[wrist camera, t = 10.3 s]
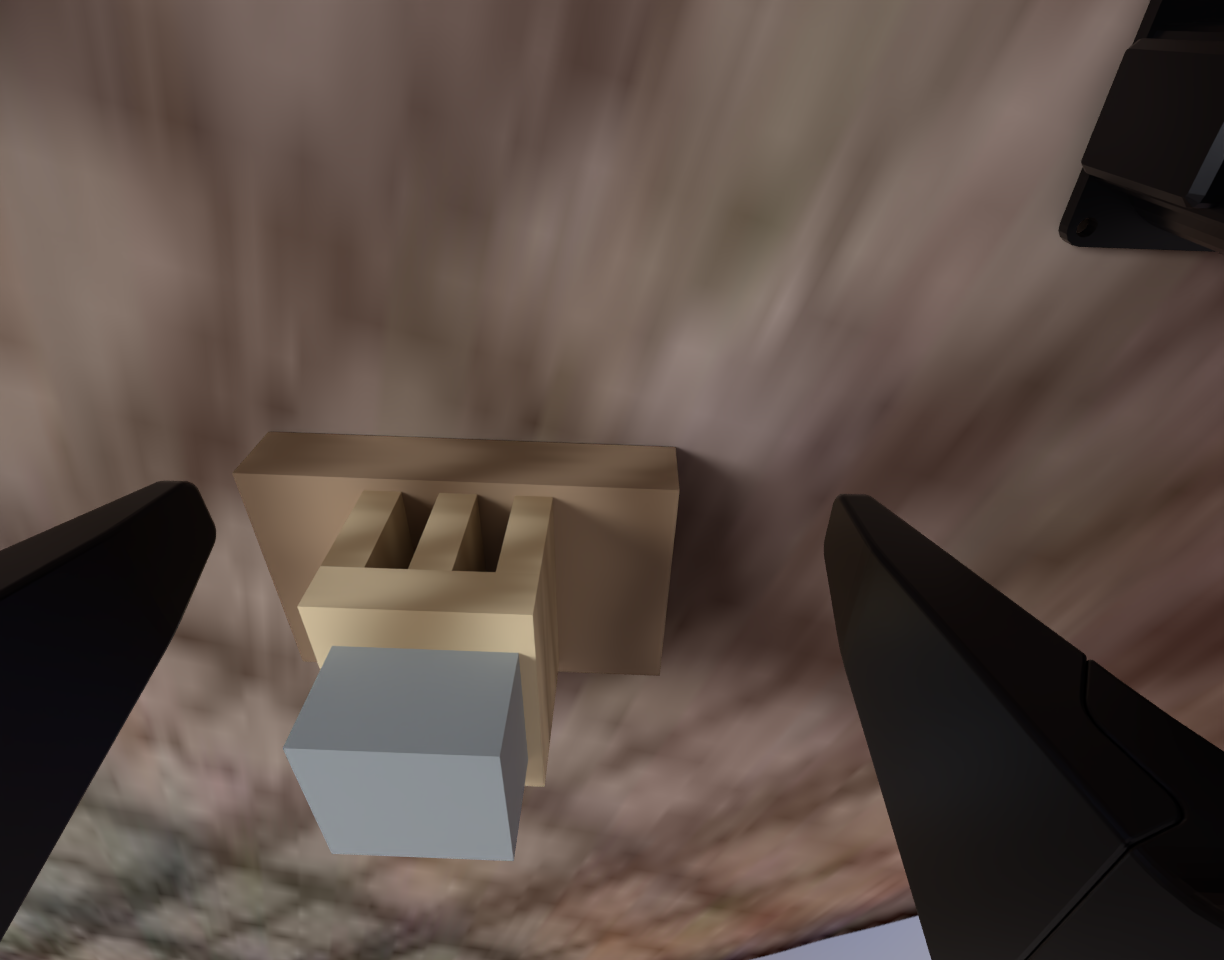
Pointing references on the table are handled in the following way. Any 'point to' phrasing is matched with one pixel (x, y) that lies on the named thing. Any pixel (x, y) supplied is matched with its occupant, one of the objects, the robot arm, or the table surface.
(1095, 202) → the robot arm
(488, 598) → the block
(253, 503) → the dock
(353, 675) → the block
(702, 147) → the table surface
